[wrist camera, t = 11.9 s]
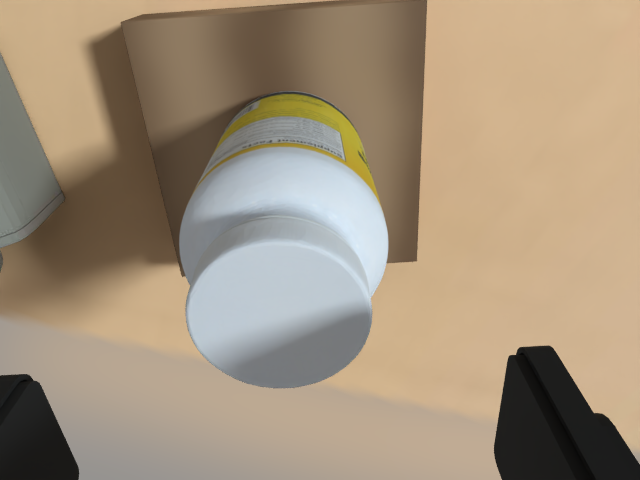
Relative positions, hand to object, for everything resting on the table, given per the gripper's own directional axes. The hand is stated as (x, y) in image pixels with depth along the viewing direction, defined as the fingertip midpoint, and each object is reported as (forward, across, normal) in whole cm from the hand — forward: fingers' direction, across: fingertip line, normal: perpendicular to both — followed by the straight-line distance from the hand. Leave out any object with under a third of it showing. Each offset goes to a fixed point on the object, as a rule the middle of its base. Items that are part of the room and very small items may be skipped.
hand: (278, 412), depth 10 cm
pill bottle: (+14, 0, 0) cm, 15 cm away
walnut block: (+17, 0, 0) cm, 17 cm away
